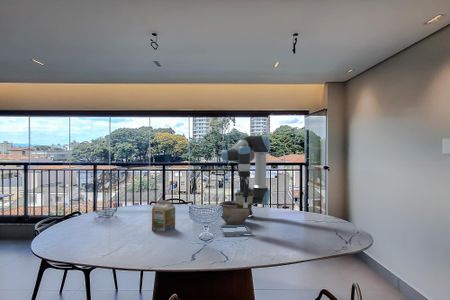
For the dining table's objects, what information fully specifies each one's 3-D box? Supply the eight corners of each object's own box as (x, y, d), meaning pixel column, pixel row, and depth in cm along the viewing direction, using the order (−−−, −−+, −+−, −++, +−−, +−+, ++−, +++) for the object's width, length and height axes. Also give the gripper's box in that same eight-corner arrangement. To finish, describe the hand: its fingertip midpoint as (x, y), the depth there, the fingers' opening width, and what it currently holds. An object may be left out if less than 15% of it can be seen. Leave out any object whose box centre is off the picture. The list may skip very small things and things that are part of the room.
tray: (219, 229, 193) (219, 225, 193) (245, 228, 195) (245, 224, 195) (223, 236, 175) (223, 232, 175) (251, 235, 178) (251, 231, 178)
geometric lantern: (90, 217, 224) (91, 172, 226) (104, 214, 239) (105, 171, 241) (107, 219, 219) (108, 172, 221) (121, 215, 234) (122, 171, 236)
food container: (253, 207, 189) (253, 192, 189) (253, 209, 183) (254, 193, 183) (234, 207, 190) (234, 191, 190) (234, 208, 184) (234, 192, 184)
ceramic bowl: (250, 227, 198) (250, 205, 199) (218, 226, 199) (218, 204, 199) (248, 220, 220) (248, 200, 221) (219, 219, 221) (219, 200, 221)
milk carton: (151, 230, 187) (152, 201, 188) (162, 227, 197) (162, 198, 197) (164, 232, 182) (165, 202, 183) (175, 229, 192) (175, 200, 192)
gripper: (235, 169, 196) (235, 204, 195) (242, 171, 177) (241, 209, 176) (246, 169, 197) (245, 204, 197) (254, 171, 178) (253, 209, 177)
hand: (244, 206), depth 186 cm, fingers closed on food container, 7 cm apart
